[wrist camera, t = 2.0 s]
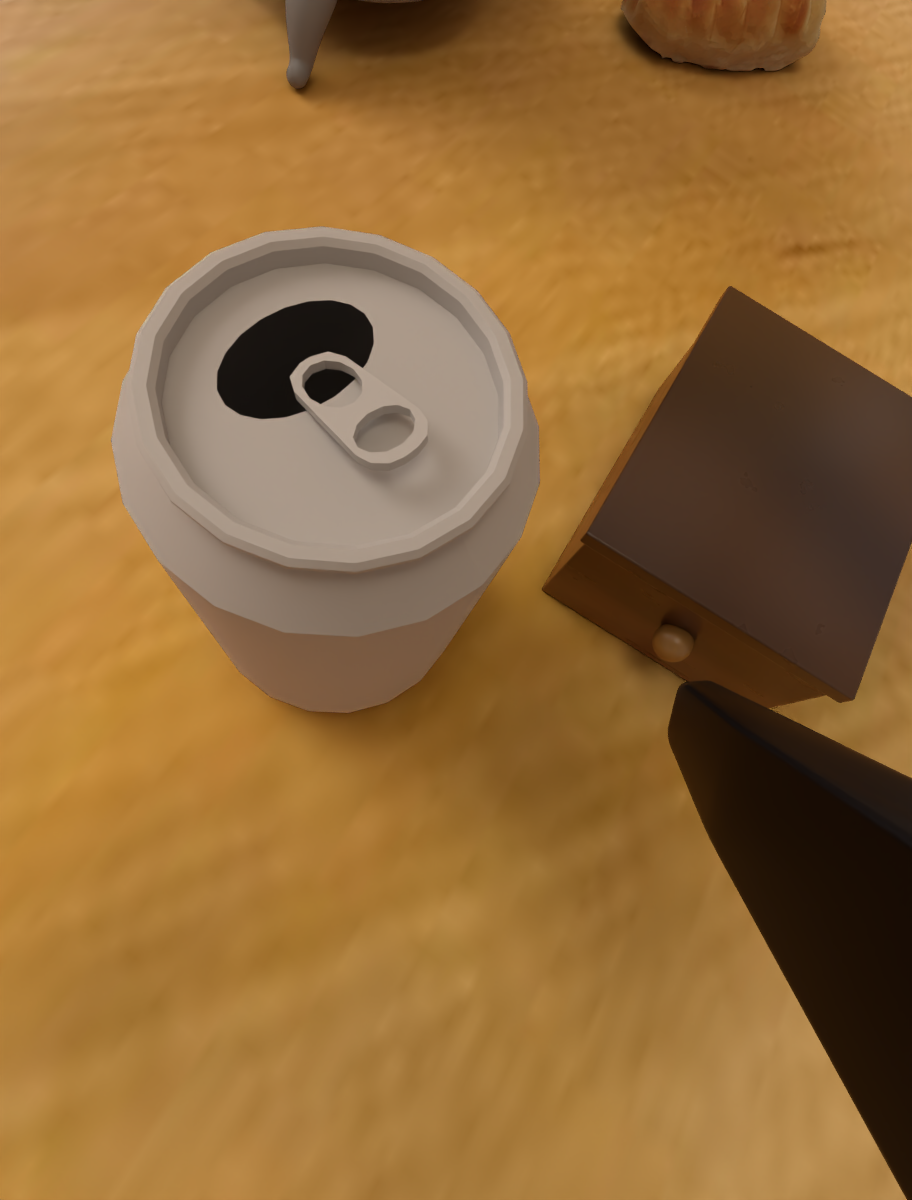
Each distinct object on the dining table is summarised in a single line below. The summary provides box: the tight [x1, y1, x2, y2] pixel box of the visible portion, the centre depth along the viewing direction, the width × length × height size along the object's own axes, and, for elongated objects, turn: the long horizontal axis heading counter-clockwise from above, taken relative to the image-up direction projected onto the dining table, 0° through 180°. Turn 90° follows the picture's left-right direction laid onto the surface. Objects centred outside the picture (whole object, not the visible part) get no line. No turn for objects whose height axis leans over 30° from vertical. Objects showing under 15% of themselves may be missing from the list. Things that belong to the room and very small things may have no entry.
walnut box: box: [542, 286, 912, 708], centre depth 22 cm, size 11×8×5 cm
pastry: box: [621, 0, 826, 71], centre depth 31 cm, size 9×7×4 cm
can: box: [111, 226, 540, 713], centre depth 16 cm, size 8×8×12 cm
